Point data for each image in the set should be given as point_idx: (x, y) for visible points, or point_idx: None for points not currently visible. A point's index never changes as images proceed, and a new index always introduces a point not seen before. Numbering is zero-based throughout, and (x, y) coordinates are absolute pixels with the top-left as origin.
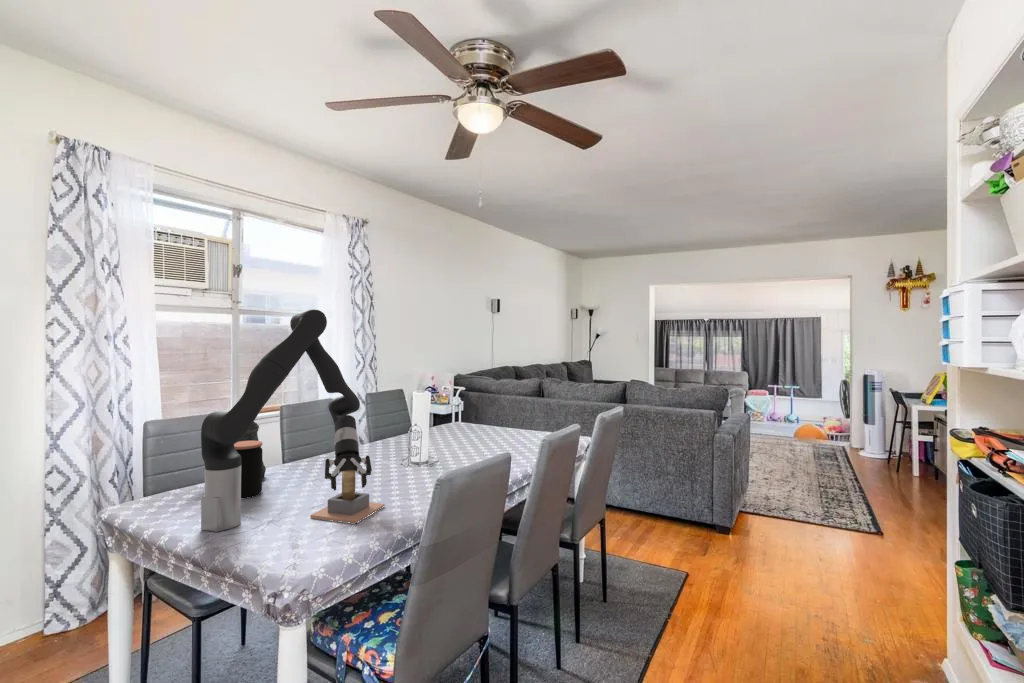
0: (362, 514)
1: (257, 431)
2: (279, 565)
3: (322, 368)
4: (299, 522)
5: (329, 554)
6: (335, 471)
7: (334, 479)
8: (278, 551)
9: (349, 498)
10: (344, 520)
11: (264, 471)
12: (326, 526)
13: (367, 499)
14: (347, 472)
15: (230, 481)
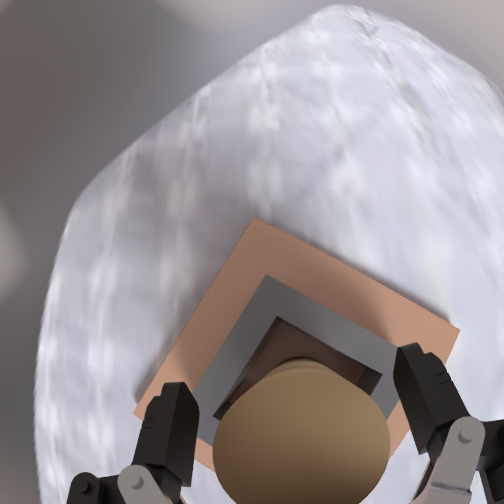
0: (227, 294)
1: None
2: (394, 36)
3: None
4: (478, 286)
5: (306, 48)
6: (456, 476)
7: (438, 397)
8: (434, 83)
9: (291, 360)
10: (306, 245)
11: None
12: (373, 221)
13: None
14: (317, 412)
15: None
